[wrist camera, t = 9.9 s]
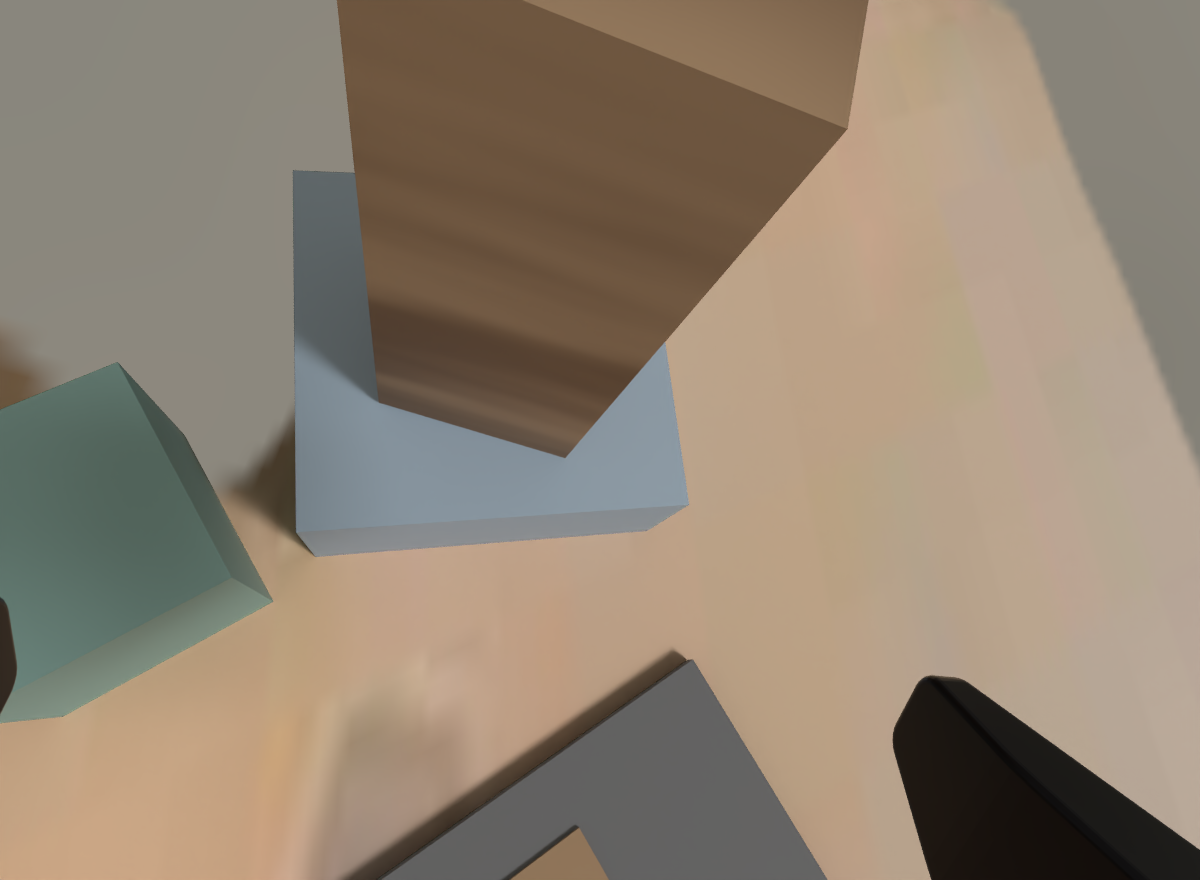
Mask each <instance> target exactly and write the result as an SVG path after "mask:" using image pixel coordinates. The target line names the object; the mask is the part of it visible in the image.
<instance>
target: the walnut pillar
mask: <svg viewBox="0 0 1200 880" xmlns="http://www.w3.org/2000/svg"><path fill="white" fill-rule="evenodd" d="M337 5H338V15H339V25H340V34H341V44H342V53H343V63H344V73H345V82H346V92H347V102H348V111H349V121H350V131H351V140H352V150H353V160H354V169H355V179H356V189H357V198H358V208H359V218H360V227H361V237H362V247H363V256H364V266H365V276H366V285H367V295H368V305H369V314H370V324H371V334H372V343H373V353H374V363H375V372H376V382H377V392H378V401H379V403H381V404H385V405H388V406H392V407H395V408H398V409H402V410H405V411H408V412H412V413H415V414H418V415H422V416H425V417H428V418H432V419H435V420H438V421H442V422H445V423H449V424H452V425H455V426H459V427H462V428H465V429H469V430H472V431H475V432H479V433H482V434H485V435H489V436H492V437H496V438H499V439H502V440H506V441H509V442H512V443H516V444H519V445H522V446H526V447H529V448H532V449H536V450H539V451H543V452H546V453H549V454H553V455H556V456H559V457H563V458H566V457H567V456H568V454H569V453H570V452H571V451H572V450H573V449H574V447H575V446H576V445H577V444H578V443H579V442H580V440H581V439H582V438H583V437H584V436H585V435H586V433H587V432H588V431H589V430H590V429H591V428H592V426H593V425H594V424H595V423H596V422H597V421H598V419H599V418H600V417H601V416H602V415H603V414H604V412H605V411H606V410H607V409H608V408H609V407H610V405H611V404H612V403H613V402H614V401H615V400H616V398H617V397H618V396H619V395H620V394H621V393H622V391H623V390H624V389H625V388H626V387H627V386H628V384H629V383H630V382H631V381H632V380H633V379H634V377H635V376H636V375H637V374H638V373H639V372H640V370H641V369H642V368H643V367H644V366H645V365H646V363H647V362H648V361H649V360H650V359H651V358H652V356H653V355H654V354H655V353H656V352H657V351H658V349H659V348H660V347H661V346H662V345H663V344H664V342H665V341H666V340H667V339H668V338H669V337H670V335H671V334H672V333H673V332H674V331H675V330H676V328H677V327H678V326H679V325H680V324H681V323H682V321H683V320H684V319H685V318H686V317H687V316H688V314H689V313H690V312H691V311H692V310H693V309H694V307H695V306H696V305H697V304H698V303H699V302H700V300H701V299H702V298H703V297H704V296H705V295H706V293H707V292H708V291H709V290H710V289H711V288H712V286H713V285H714V284H715V283H716V282H717V281H718V279H719V278H720V277H721V276H722V275H723V274H724V272H725V271H726V270H727V269H728V268H729V267H730V265H731V264H732V263H733V262H734V261H735V260H736V258H737V257H738V256H739V255H740V254H741V253H742V251H743V250H744V249H745V248H746V247H747V246H748V244H749V243H750V242H751V241H752V240H753V239H754V237H755V236H756V235H757V234H758V233H759V232H760V230H761V229H762V228H763V227H764V226H765V225H766V223H767V222H768V221H769V220H770V219H771V218H772V216H773V215H774V214H775V213H776V212H777V211H778V209H779V208H780V207H781V206H782V205H783V204H784V202H785V201H786V200H787V199H788V198H789V197H790V195H791V194H792V193H793V192H794V191H795V190H796V188H797V187H798V186H799V185H800V184H801V183H802V181H803V180H804V179H805V178H806V177H807V176H808V174H809V173H810V172H811V171H812V170H813V169H814V167H815V166H816V165H817V164H818V163H819V162H820V160H821V159H822V158H823V157H824V156H825V155H826V153H827V152H828V151H829V150H830V149H831V148H832V146H833V145H834V144H835V143H836V142H837V141H838V139H839V138H840V137H841V136H842V135H843V134H844V132H845V131H846V130H847V129H848V123H849V116H850V110H851V104H852V98H853V92H854V86H855V80H856V73H857V67H858V61H859V55H860V49H861V43H862V37H863V30H864V24H865V18H866V12H867V6H868V0H337Z"/></svg>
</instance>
